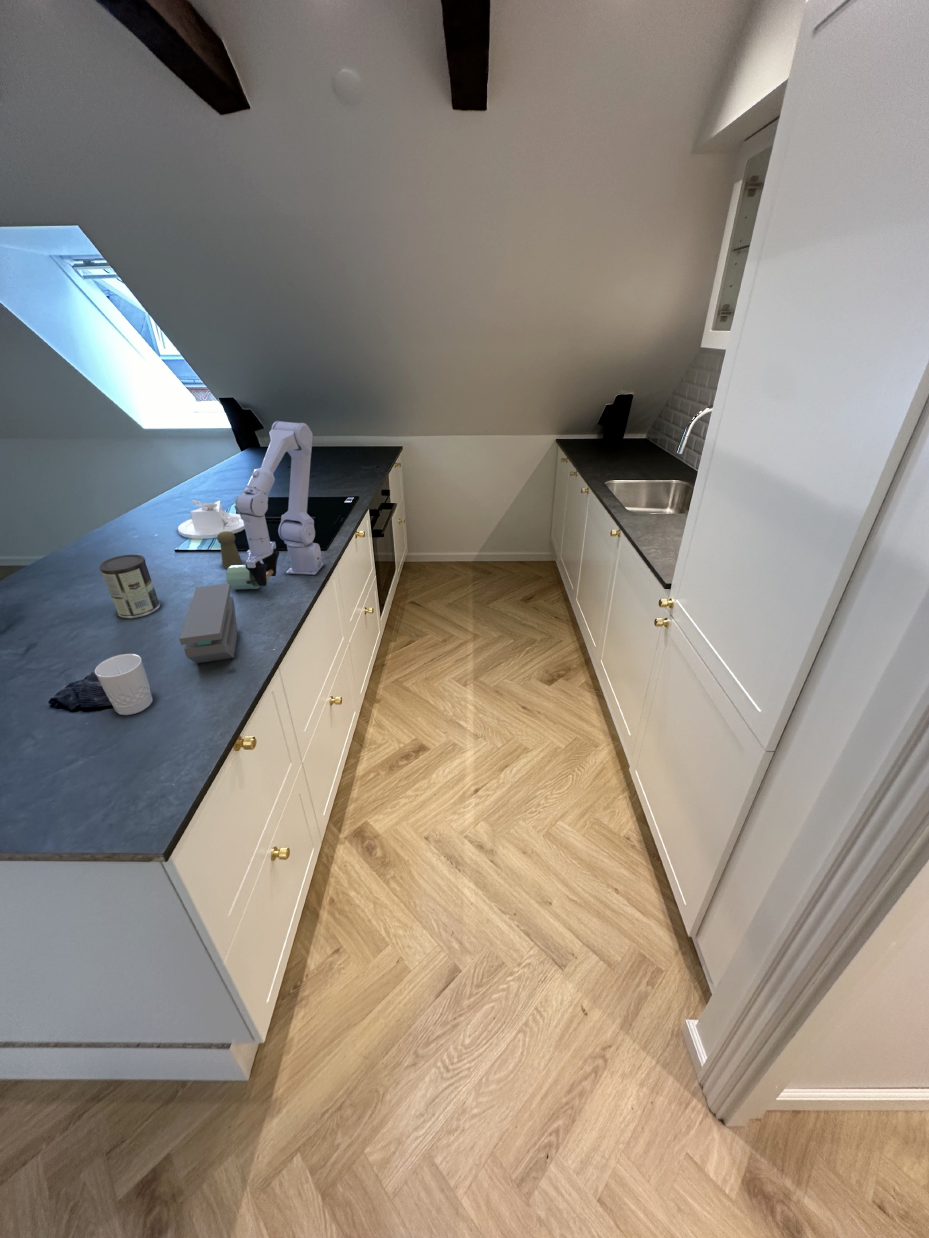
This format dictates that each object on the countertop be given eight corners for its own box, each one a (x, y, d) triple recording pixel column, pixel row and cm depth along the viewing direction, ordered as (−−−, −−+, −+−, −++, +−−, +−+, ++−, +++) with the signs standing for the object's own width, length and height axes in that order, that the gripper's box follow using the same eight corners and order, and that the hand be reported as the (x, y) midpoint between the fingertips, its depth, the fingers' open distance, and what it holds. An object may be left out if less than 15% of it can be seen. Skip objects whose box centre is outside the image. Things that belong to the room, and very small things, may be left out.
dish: (234, 539, 185) (226, 508, 179) (165, 538, 185) (156, 508, 179) (258, 516, 206) (252, 489, 200) (197, 516, 206) (189, 488, 201)
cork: (235, 569, 162) (227, 536, 157) (218, 567, 163) (210, 535, 158) (246, 561, 167) (239, 530, 162) (229, 560, 168) (222, 528, 163)
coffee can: (140, 598, 145) (124, 552, 138) (168, 603, 142) (153, 557, 135) (108, 615, 137) (89, 567, 130) (137, 621, 134) (119, 572, 127)
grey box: (207, 624, 133) (196, 587, 127) (239, 620, 135) (229, 583, 129) (192, 680, 112) (179, 638, 107) (231, 674, 114) (219, 633, 109)
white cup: (124, 693, 108) (107, 654, 103) (162, 691, 109) (148, 652, 104) (104, 718, 101) (86, 677, 96) (145, 716, 102) (129, 676, 97)
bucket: (243, 582, 154) (278, 580, 153) (230, 594, 147) (266, 593, 146) (236, 560, 151) (271, 559, 149) (222, 572, 144) (259, 570, 142)
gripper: (255, 526, 148) (265, 569, 155) (231, 545, 136) (242, 591, 143) (279, 527, 148) (287, 570, 155) (257, 546, 135) (267, 592, 142)
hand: (267, 580), depth 149 cm, fingers closed on bucket, 6 cm apart
